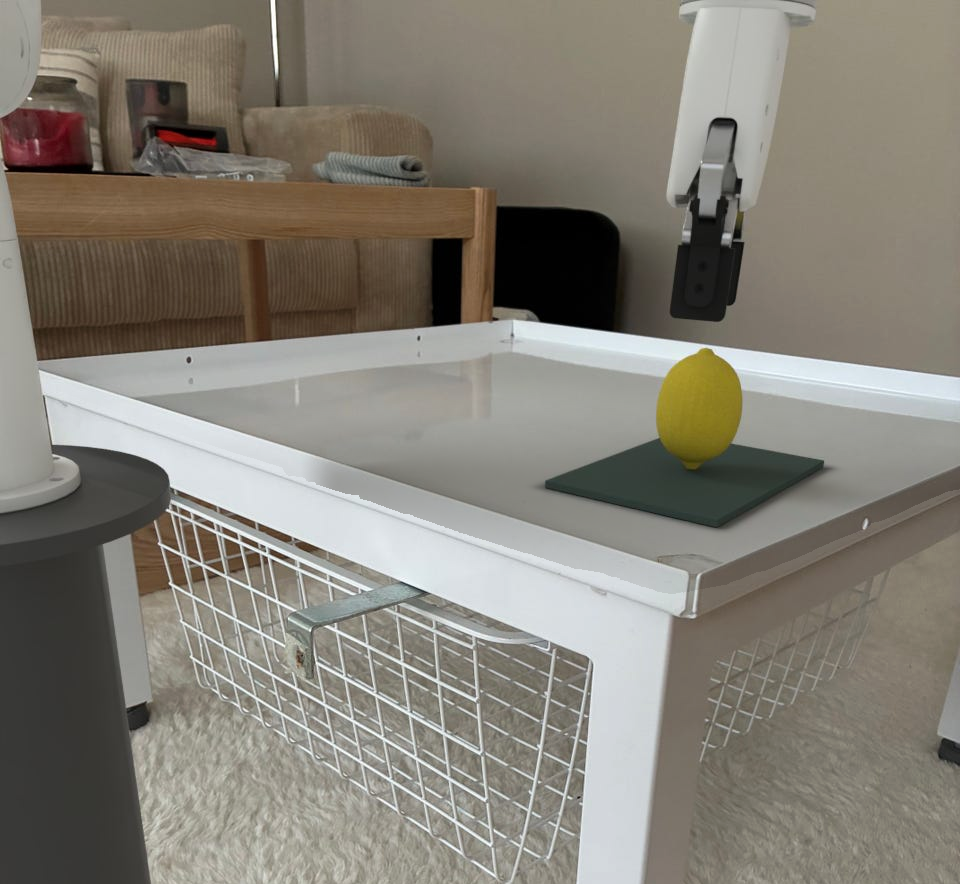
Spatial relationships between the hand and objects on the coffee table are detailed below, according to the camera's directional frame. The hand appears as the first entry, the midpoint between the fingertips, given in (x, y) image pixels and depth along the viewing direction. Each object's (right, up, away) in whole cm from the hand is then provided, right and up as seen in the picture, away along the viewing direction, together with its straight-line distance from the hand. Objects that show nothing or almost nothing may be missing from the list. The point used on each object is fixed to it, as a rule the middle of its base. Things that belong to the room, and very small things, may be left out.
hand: (704, 311), depth 62 cm
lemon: (0, -9, +4) cm, 10 cm away
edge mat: (0, -10, +5) cm, 11 cm away
